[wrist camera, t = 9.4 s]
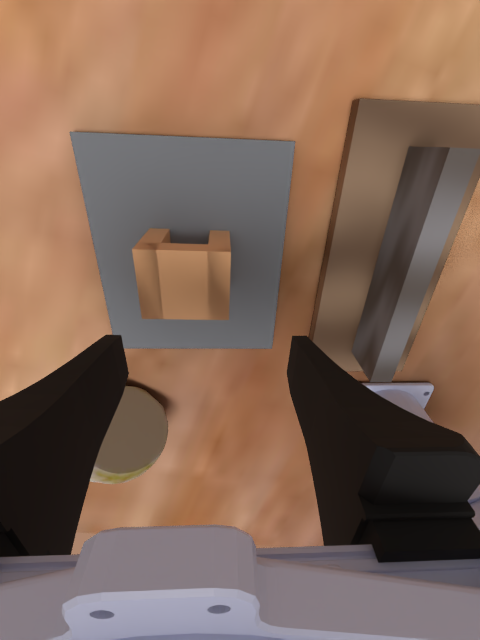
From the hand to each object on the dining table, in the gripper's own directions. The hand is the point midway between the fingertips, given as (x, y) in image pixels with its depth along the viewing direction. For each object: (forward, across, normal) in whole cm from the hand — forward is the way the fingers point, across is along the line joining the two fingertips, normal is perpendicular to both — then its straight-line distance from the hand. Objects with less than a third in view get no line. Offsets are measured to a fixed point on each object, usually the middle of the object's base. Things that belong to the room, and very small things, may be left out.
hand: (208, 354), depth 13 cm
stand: (+9, -12, -1) cm, 15 cm away
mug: (+10, +8, +14) cm, 19 cm away
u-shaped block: (+9, +2, -1) cm, 9 cm away
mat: (+9, +2, -1) cm, 9 cm away
